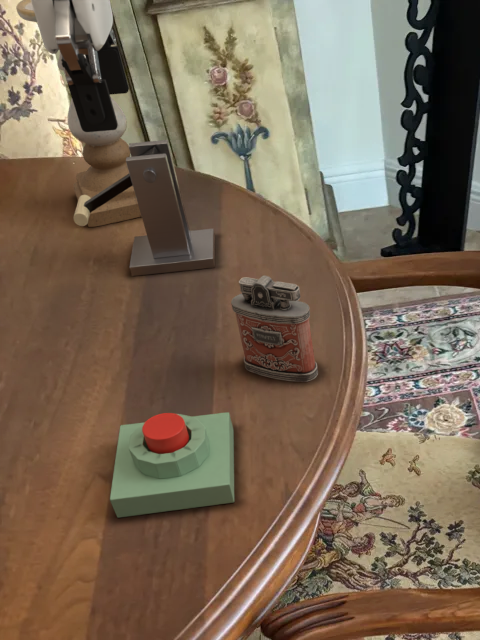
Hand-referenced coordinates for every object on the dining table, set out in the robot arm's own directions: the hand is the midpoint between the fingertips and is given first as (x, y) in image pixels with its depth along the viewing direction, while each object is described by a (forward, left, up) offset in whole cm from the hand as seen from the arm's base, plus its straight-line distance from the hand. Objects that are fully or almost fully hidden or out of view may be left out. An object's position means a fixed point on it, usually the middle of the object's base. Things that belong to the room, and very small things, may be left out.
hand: (107, 110), depth 75 cm
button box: (+3, -29, -21) cm, 36 cm away
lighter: (+13, -15, -21) cm, 29 cm away
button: (+3, -29, -17) cm, 34 cm away
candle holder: (-7, +29, -21) cm, 36 cm away
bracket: (+1, +12, -21) cm, 24 cm away
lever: (-3, +12, -13) cm, 18 cm away
